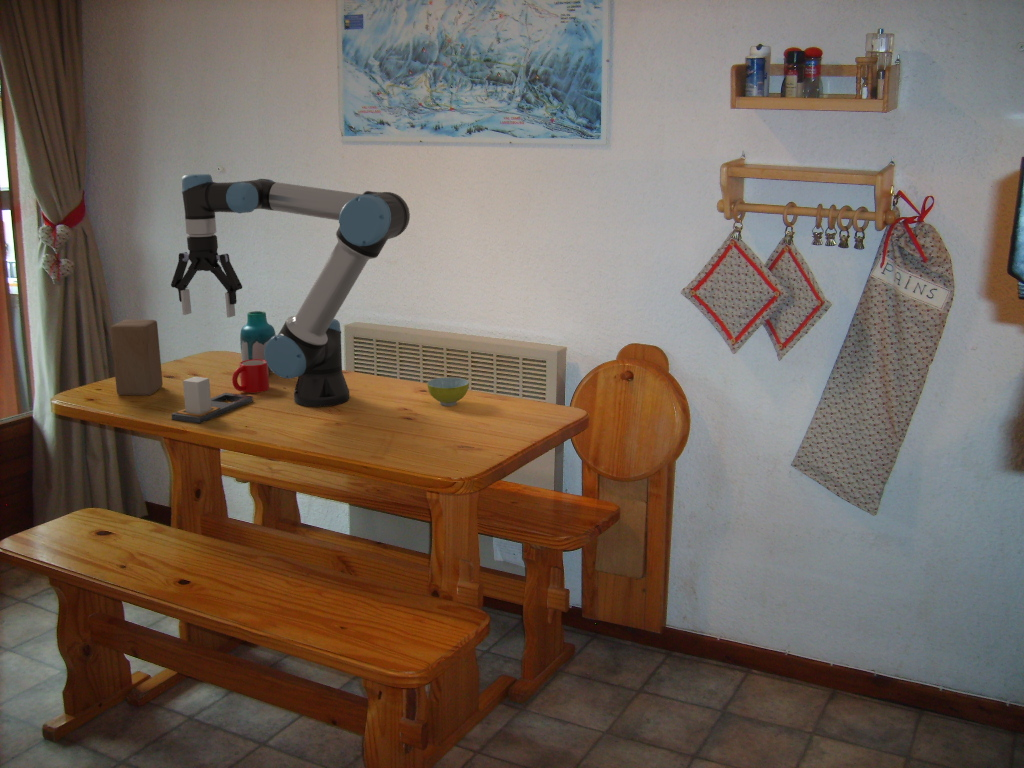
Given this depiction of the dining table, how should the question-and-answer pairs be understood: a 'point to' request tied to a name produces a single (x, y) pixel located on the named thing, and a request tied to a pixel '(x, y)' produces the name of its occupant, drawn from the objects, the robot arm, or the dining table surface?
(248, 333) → the vase
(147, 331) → the block
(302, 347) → the robot arm
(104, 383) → the dining table surface
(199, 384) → the peg
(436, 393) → the bowl
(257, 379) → the mug
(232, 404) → the grey slotted plate
